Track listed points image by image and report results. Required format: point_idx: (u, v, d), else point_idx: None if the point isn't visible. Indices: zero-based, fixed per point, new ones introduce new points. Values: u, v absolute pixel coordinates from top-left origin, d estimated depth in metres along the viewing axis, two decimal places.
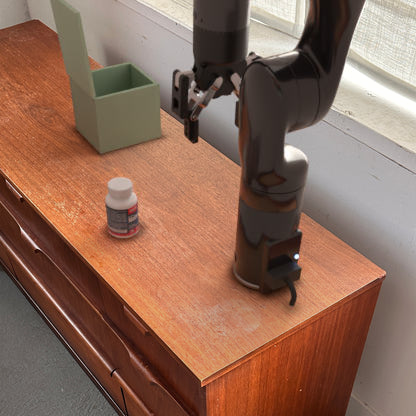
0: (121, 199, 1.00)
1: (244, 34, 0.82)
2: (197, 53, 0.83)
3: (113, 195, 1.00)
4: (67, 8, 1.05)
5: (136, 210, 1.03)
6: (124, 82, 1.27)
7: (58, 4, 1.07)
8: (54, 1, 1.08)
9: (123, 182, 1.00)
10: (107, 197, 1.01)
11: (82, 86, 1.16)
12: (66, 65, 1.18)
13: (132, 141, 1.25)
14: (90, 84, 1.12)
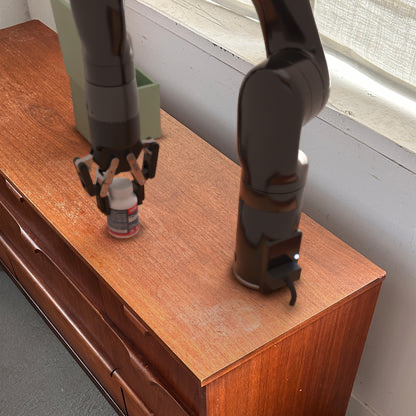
0: (121, 199, 1.00)
1: (133, 123, 0.90)
2: (93, 138, 0.92)
3: (113, 195, 1.00)
4: (67, 8, 1.05)
5: (136, 210, 1.03)
6: None
7: (58, 4, 1.07)
8: (54, 1, 1.08)
9: (123, 182, 1.00)
10: None
11: (82, 86, 1.16)
12: (66, 65, 1.18)
13: None
14: None
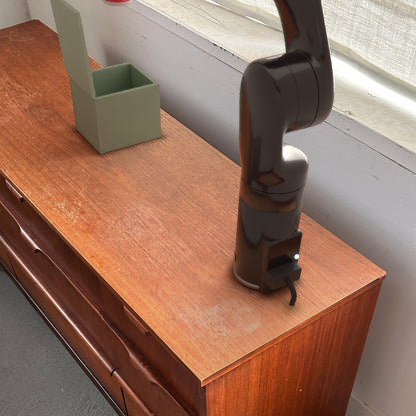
0: None
1: None
2: None
3: None
4: (67, 8, 1.05)
5: None
6: (124, 82, 1.27)
7: (58, 4, 1.07)
8: (54, 1, 1.08)
9: None
10: None
11: (82, 86, 1.16)
12: (66, 65, 1.18)
13: (132, 141, 1.25)
14: (90, 84, 1.12)
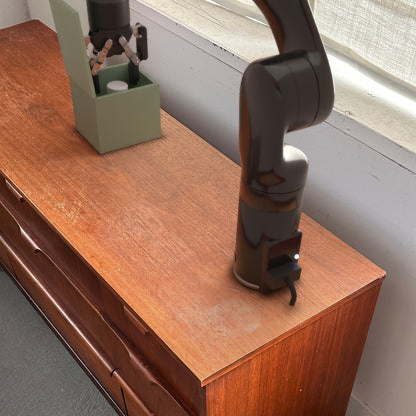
0: None
1: (123, 6, 1.08)
2: (90, 20, 1.10)
3: None
4: (66, 8, 1.04)
5: None
6: None
7: (57, 4, 1.07)
8: (53, 1, 1.08)
9: (119, 84, 1.21)
10: None
11: (82, 86, 1.16)
12: (66, 65, 1.18)
13: (132, 141, 1.25)
14: (90, 84, 1.12)
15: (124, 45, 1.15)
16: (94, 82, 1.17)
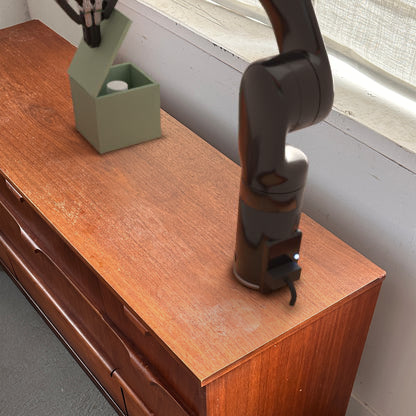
0: None
1: None
2: None
3: None
4: (120, 13, 1.10)
5: None
6: None
7: None
8: None
9: (119, 84, 1.21)
10: None
11: (84, 85, 1.16)
12: (73, 64, 1.19)
13: (132, 141, 1.25)
14: (99, 84, 1.13)
15: None
16: (89, 35, 1.11)
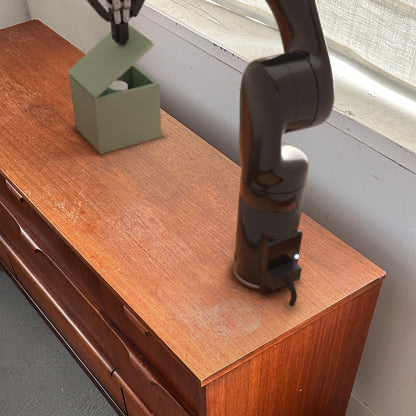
0: None
1: None
2: None
3: None
4: (143, 36, 1.15)
5: None
6: None
7: (129, 30, 1.17)
8: None
9: (119, 84, 1.21)
10: None
11: (86, 85, 1.16)
12: (77, 66, 1.19)
13: (132, 141, 1.25)
14: (103, 87, 1.14)
15: None
16: (117, 32, 1.14)
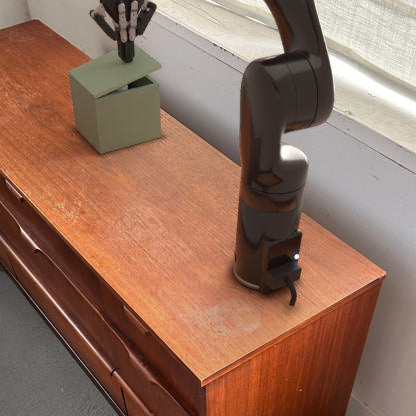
0: None
1: None
2: None
3: None
4: (152, 58, 1.18)
5: None
6: None
7: (138, 51, 1.21)
8: None
9: None
10: None
11: (87, 85, 1.16)
12: (79, 69, 1.20)
13: (132, 141, 1.25)
14: (105, 90, 1.14)
15: (136, 10, 1.12)
16: (123, 50, 1.17)
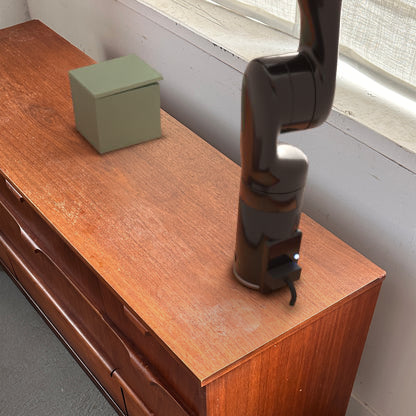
0: None
1: None
2: None
3: None
4: (154, 69, 1.20)
5: None
6: None
7: (140, 62, 1.22)
8: (136, 59, 1.23)
9: None
10: None
11: (87, 85, 1.16)
12: (79, 70, 1.20)
13: (132, 141, 1.25)
14: (106, 92, 1.15)
15: None
16: None
